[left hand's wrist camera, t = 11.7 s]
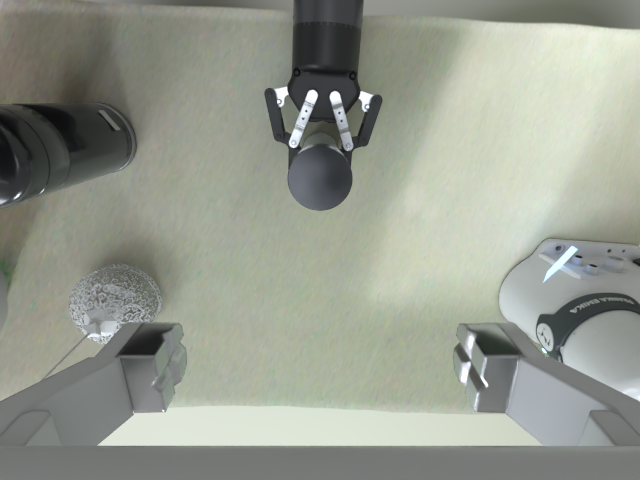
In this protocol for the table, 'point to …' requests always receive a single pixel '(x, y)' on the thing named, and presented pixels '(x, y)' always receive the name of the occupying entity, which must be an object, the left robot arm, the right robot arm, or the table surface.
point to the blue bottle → (320, 140)
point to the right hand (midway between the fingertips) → (319, 178)
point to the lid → (320, 177)
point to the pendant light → (109, 305)
